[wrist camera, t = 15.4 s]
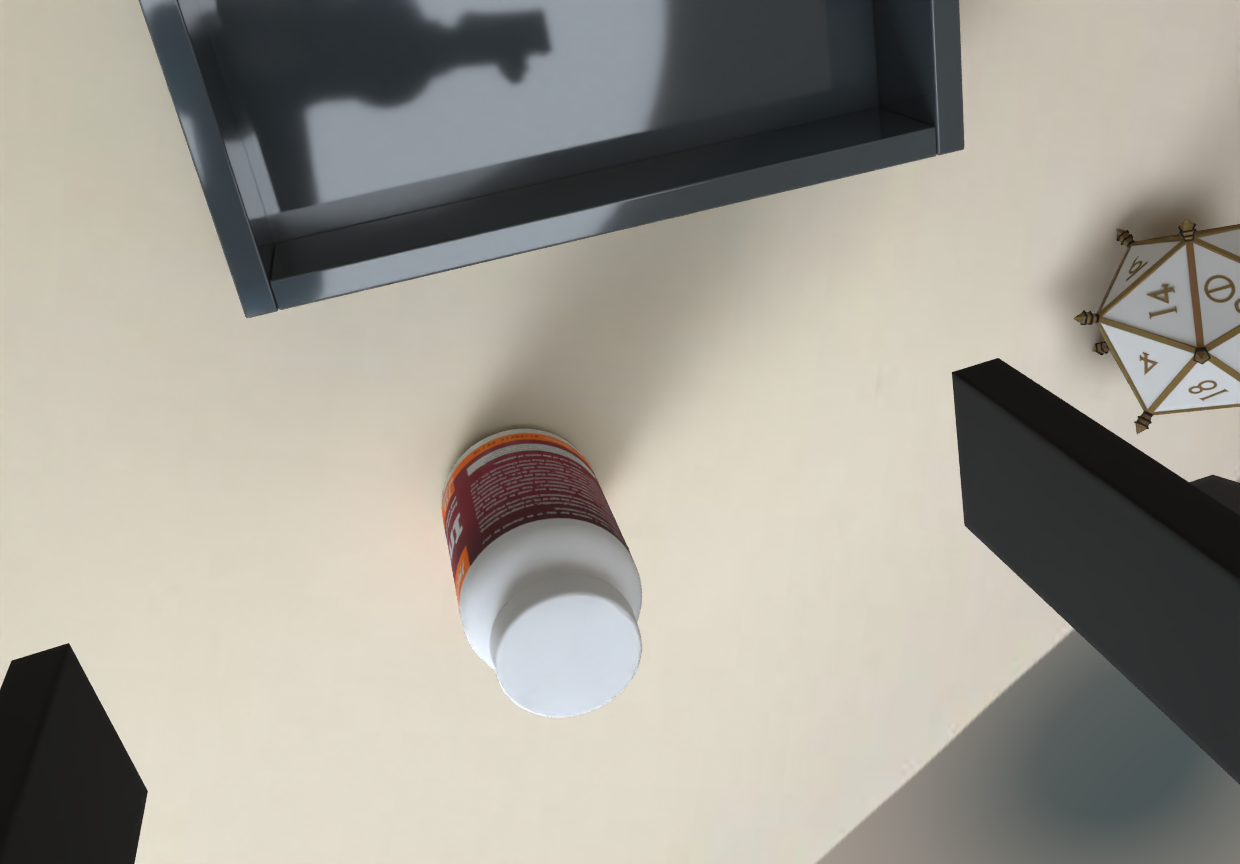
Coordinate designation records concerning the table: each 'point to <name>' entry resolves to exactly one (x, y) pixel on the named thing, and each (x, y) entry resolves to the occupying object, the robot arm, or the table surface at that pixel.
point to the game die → (1175, 320)
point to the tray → (528, 120)
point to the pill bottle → (542, 573)
